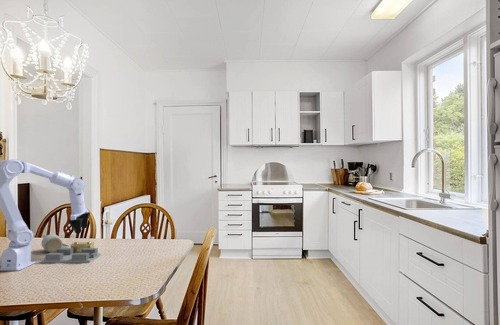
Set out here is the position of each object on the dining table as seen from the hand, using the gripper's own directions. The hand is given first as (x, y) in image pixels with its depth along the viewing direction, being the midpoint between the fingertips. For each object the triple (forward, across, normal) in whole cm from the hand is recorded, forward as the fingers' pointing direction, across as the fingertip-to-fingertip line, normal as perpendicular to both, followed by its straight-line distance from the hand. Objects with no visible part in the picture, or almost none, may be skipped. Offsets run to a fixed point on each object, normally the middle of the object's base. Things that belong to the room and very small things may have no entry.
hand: (81, 230), depth 133 cm
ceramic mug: (+10, +5, +15) cm, 19 cm away
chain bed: (+10, -10, +1) cm, 14 cm away
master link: (+11, -2, 0) cm, 11 cm away
